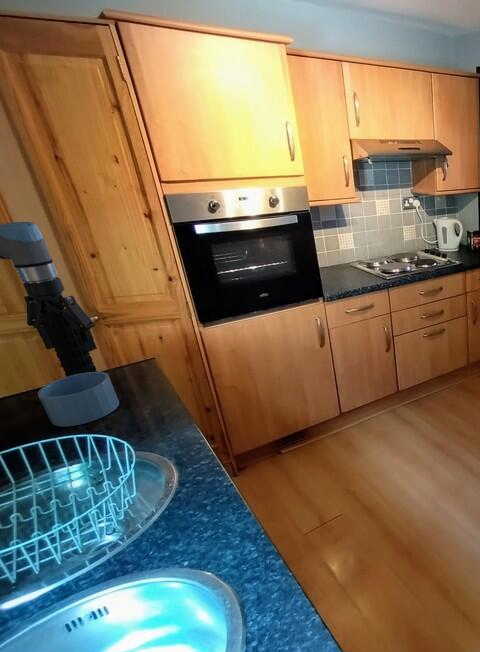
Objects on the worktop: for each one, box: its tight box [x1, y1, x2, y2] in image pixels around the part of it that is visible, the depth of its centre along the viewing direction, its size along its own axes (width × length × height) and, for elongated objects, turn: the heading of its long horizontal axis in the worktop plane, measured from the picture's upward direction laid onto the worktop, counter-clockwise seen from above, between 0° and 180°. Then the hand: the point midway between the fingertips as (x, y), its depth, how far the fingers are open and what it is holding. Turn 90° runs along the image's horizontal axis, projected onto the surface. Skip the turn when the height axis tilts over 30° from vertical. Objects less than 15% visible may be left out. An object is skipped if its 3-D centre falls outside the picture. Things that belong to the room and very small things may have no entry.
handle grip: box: [39, 312, 98, 377], centre depth 133 cm, size 10×26×10 cm
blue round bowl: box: [37, 371, 120, 427], centre depth 126 cm, size 15×15×9 cm
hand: (72, 349), depth 133 cm, fingers open, 13 cm apart
